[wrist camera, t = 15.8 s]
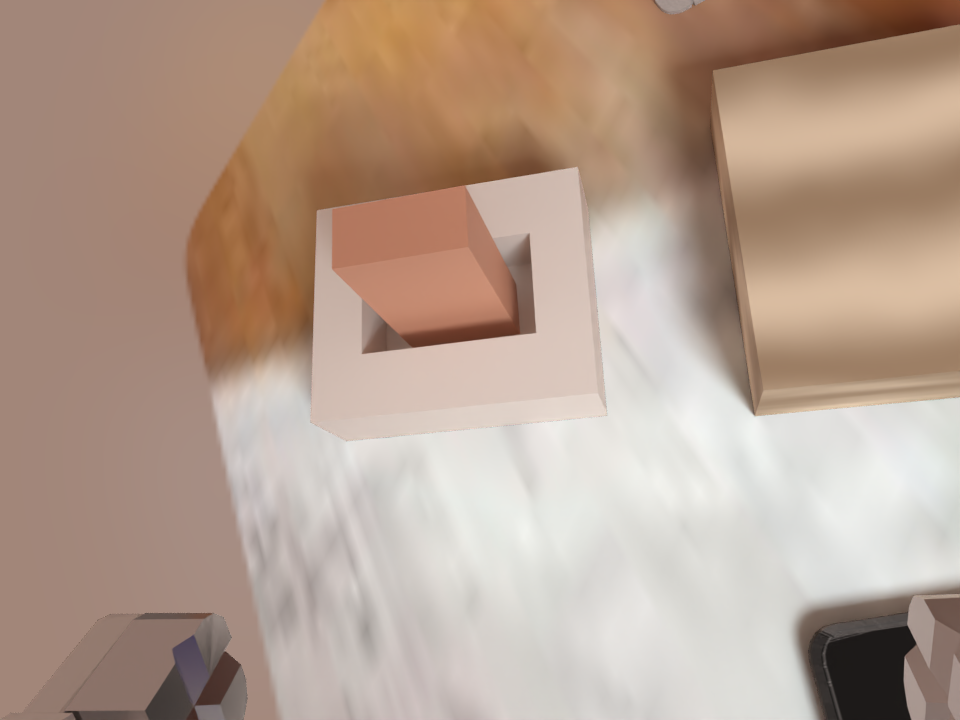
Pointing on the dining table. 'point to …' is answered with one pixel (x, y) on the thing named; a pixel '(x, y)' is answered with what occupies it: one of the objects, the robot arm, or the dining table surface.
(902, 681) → the phone
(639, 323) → the dining table surface
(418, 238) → the block
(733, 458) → the dining table surface
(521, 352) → the frame
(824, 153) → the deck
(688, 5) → the handheld gaming device
